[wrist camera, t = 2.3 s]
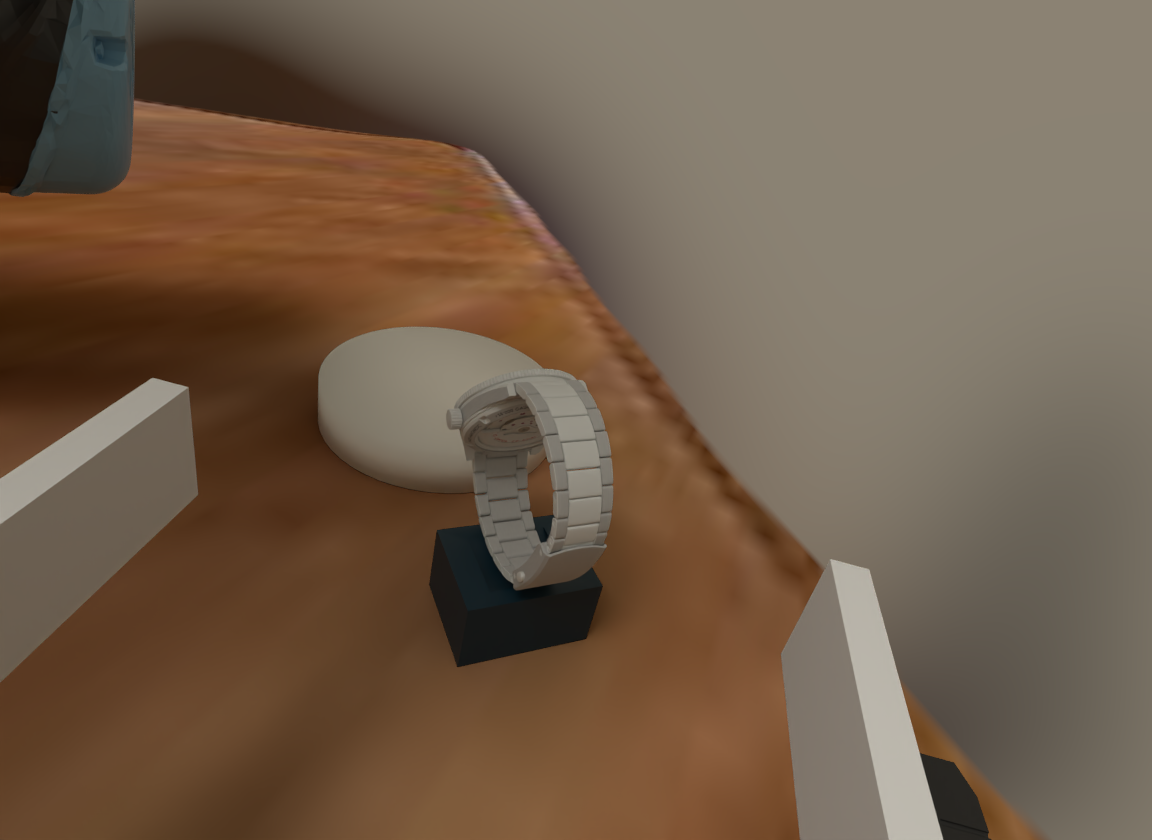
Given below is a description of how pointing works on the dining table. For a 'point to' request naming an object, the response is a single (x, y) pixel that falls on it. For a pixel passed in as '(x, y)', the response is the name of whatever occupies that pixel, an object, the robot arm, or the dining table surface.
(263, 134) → the dining table surface
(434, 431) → the display plinth
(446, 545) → the watch
